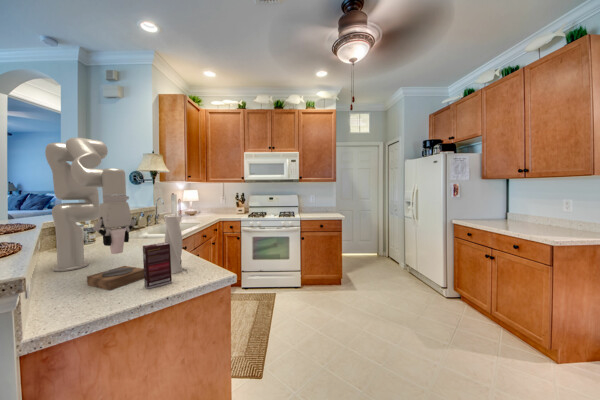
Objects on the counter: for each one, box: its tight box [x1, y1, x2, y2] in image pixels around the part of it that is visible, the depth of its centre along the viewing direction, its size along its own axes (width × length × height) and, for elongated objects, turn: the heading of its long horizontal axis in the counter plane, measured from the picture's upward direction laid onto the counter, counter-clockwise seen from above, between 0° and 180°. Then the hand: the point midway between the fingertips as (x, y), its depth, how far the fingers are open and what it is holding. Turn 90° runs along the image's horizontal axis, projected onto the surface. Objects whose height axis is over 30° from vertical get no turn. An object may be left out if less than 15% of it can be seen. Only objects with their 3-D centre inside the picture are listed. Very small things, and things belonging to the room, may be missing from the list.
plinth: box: [86, 265, 144, 291], centre depth 98 cm, size 14×14×4 cm
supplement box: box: [142, 241, 173, 290], centre depth 93 cm, size 9×5×16 cm, turn 134°
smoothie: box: [109, 227, 126, 255], centre depth 97 cm, size 6×6×14 cm
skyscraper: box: [163, 210, 188, 275], centre depth 109 cm, size 8×8×28 cm
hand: (116, 243), depth 97 cm, fingers closed on smoothie, 6 cm apart
